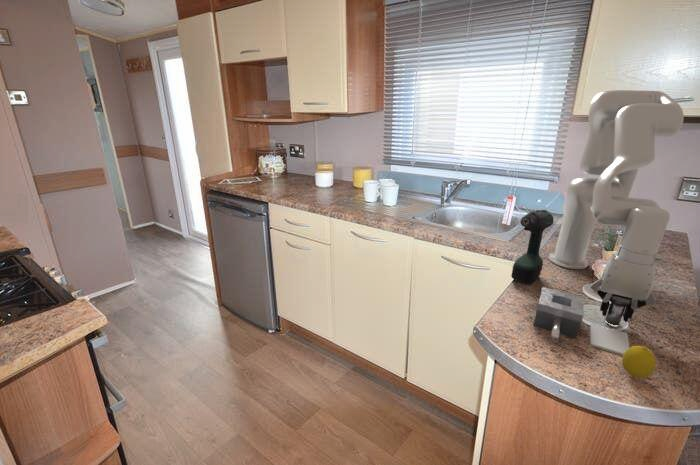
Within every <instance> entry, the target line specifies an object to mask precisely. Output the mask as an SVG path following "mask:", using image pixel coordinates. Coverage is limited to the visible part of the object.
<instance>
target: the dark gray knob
mask: <svg viewBox="0 0 700 465" xmlns="http://www.w3.org/2000/svg"><path fill="white" fill-rule="evenodd" d="M631 301H632V299H631V298H628V297H623V296H619V295H615V294H613V295H612V296H611V298H610V299H609V303H610V305H609V308H608V311H607V314H606V316H605V318H604V321H605V320H606V321H607V322H608V323H610V324H613V325H619V326H620V324H621V321H622V318H623V314H624V311H625V308H626V307H628V306H630V305H631Z"/></svg>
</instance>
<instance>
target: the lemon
mask: <svg viewBox="0 0 700 465" xmlns="http://www.w3.org/2000/svg"><path fill="white" fill-rule="evenodd" d="M629 347H630V348H629V349H627V351H626V352H625V353H624V355H622V358H621V363H622V367H623V369H624V371H625V372H626V373H628V374H629V375H630V376H631V377H632V378H639V379H645V378H647V377H650V376H651V375H652V374H653V373H654V372H655V369H656V366H657V359H656V356H655V353H653V351H651V350H650V349H649V348H647V347H646V346H642V345H633V346H629Z"/></svg>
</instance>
